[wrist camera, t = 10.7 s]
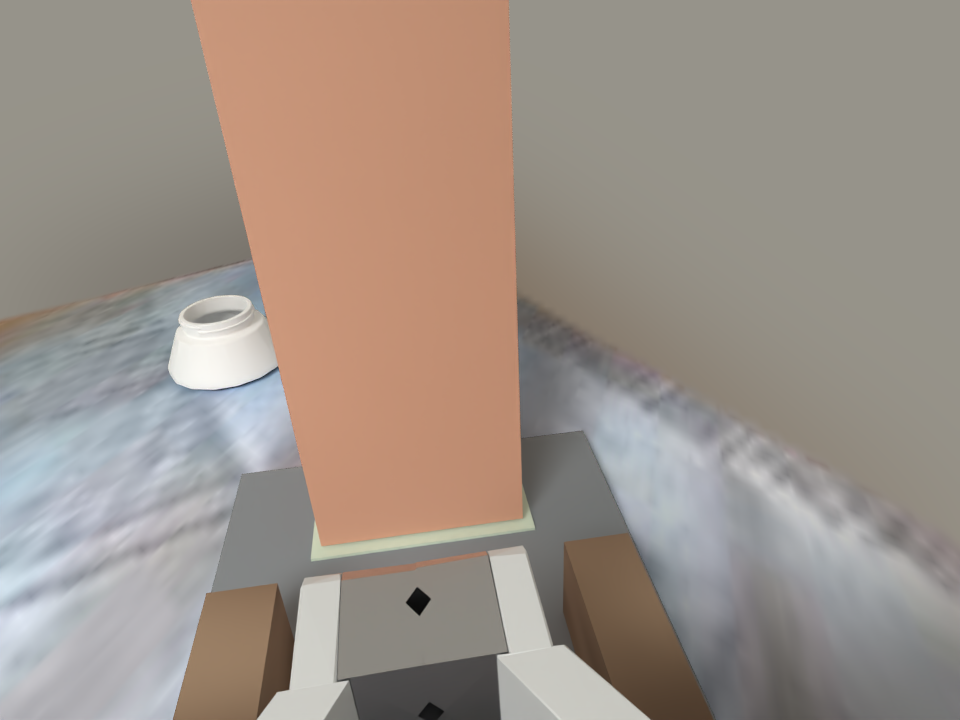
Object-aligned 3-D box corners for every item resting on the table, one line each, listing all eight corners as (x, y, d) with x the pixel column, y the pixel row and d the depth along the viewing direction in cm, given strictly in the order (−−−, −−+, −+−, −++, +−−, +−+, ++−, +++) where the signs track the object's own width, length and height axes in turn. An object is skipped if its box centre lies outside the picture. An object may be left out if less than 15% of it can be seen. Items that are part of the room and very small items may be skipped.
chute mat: (1010, 1386, 8) (1024, 1382, 8) (-58, 1688, 7) (-80, 1693, 7) (571, 415, 26) (571, 405, 25) (251, 456, 24) (248, 445, 24)
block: (522, 518, 20) (506, -75, 13) (321, 546, 20) (177, -56, 12) (492, 407, 25) (467, -61, 18) (331, 427, 25) (235, -48, 17)
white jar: (207, 339, 33) (151, 395, 29) (191, 285, 32) (129, 335, 27) (303, 342, 32) (260, 399, 28) (291, 286, 31) (244, 337, 27)
